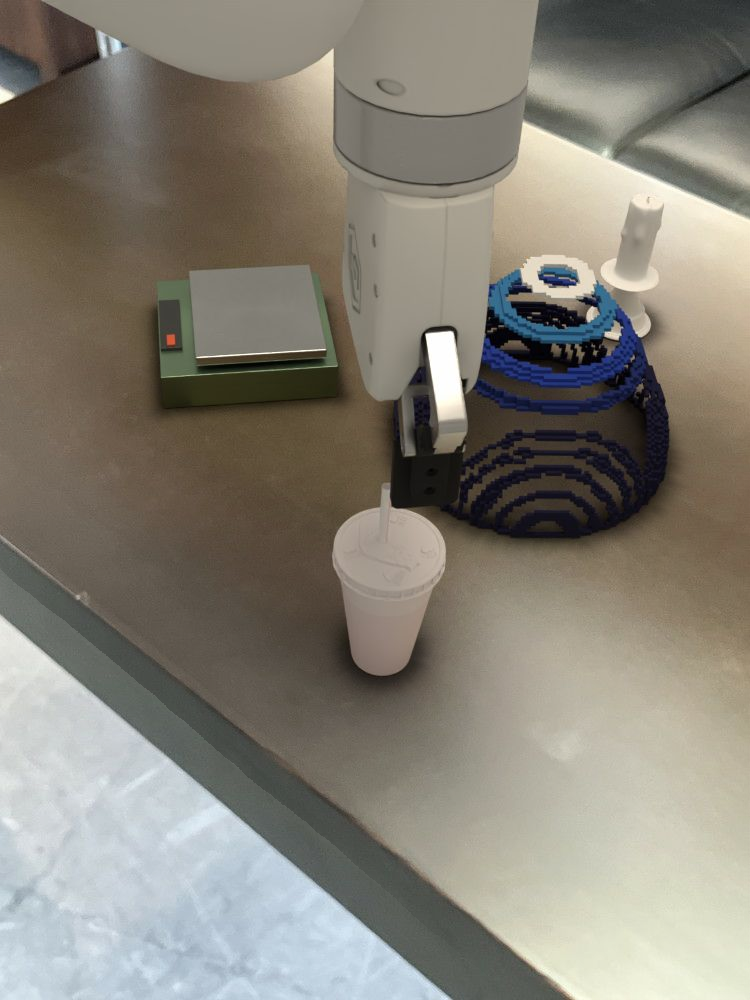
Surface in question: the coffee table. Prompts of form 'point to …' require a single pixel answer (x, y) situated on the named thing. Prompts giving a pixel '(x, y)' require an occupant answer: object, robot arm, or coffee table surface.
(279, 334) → the scale platform
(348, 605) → the smoothie
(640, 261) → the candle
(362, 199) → the robot arm
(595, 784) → the coffee table surface
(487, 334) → the decorative bowl
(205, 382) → the scale
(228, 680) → the coffee table surface
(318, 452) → the coffee table surface
